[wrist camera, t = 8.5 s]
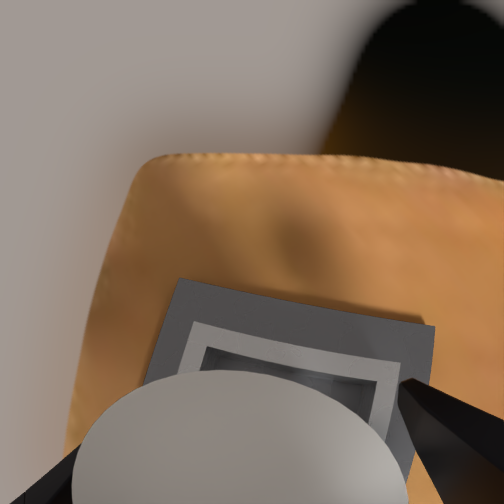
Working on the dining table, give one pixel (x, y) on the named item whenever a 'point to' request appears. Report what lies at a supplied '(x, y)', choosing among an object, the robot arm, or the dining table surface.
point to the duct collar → (299, 351)
